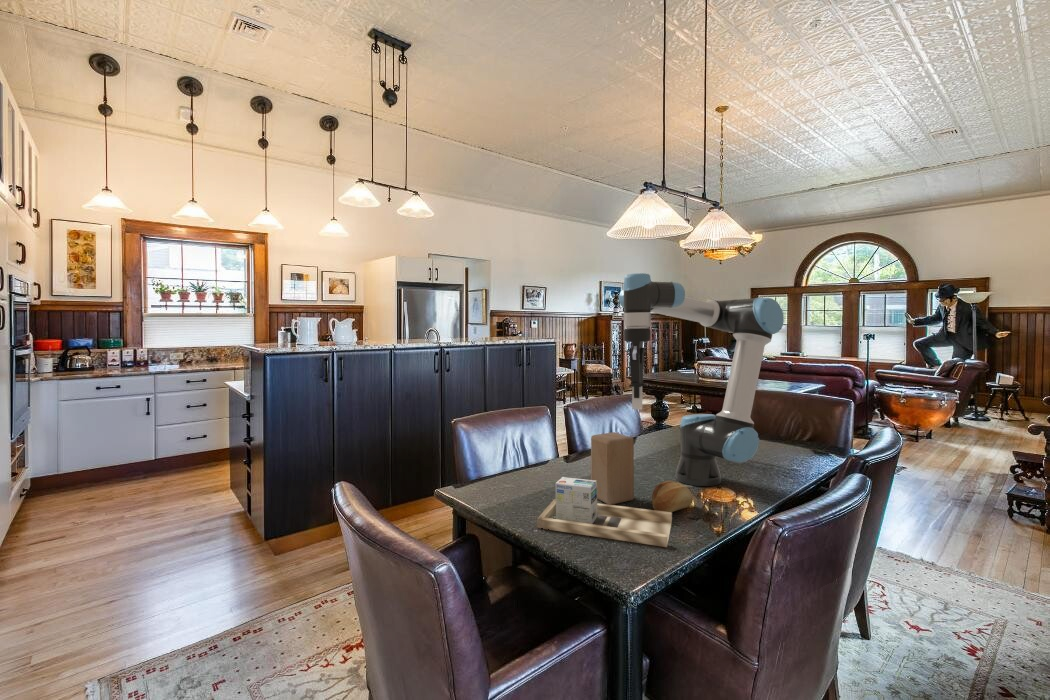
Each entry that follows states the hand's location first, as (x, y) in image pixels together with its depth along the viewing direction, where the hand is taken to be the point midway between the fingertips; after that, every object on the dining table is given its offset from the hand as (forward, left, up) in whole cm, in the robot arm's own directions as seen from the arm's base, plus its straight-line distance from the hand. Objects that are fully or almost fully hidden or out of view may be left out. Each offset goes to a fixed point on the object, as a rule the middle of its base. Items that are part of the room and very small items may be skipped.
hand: (637, 408), depth 139 cm
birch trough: (+7, +13, -30) cm, 34 cm away
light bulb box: (+15, +11, -31) cm, 36 cm away
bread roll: (-9, -5, -31) cm, 32 cm away
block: (+9, -8, -31) cm, 33 cm away
